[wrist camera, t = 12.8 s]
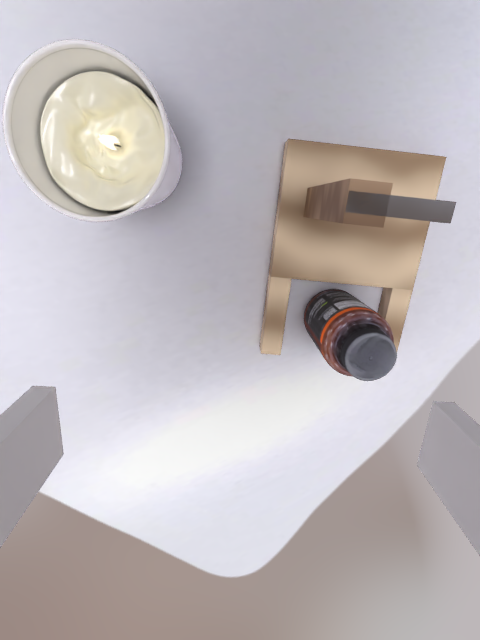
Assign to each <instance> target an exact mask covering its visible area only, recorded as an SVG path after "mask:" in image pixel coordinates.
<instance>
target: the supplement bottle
mask: <svg viewBox="0 0 480 640" xmlns="http://www.w3.org/2000/svg"><path fill="white" fill-rule="evenodd" d="M304 322H305V327H306V329H307V332H308V333H309V335H310V336H311V338H312V339H313V341H314V343H315V344H316V346H317V347H318V349H319V350H320V352H321V354H322V355H323V357H324V358H325V360H326V361H327V363H328V364H329V365H330V366H331V367H332V368H333V369H334V370H336V371H337V372H339V373H341V374H344V375H347V376H353V377H355V378H357V379H359V380H364V381H373V380H377V379H380V378H381V377H383V376H385V375H386V374H387V373H388V372H389V371H390V370H391V369H392V368H393V366H394V364H395V361H396V358H397V352H396V347H395V345H394V337H393V332H392V330H391V327H390V326H389V324H388V323H387V321H386V320H385V319H384V318H383V317H382V316H380V315H379V314H378V313H376V312H375V311H374V310H372V309H371V308H369V307H368V306H366V305H365V304H364V303H362V302H361V301H359V300H358V299H356V298H355V297H354V296H352V295H351V294H349V293H347V292H345V291H342V290H337V289H332V290H326V291H323V292H321V293H319V294H318V295H316V296H315V297H314V298H313V299H312V300H311V301H310V302H309V304H308V306H307V307H306V310H305V314H304Z"/></svg>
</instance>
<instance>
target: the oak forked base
mask: <svg viewBox="0 0 480 640" xmlns="http://www.w3.org/2000/svg"><path fill="white" fill-rule="evenodd" d="M445 160H446V157H443V156H434V155H425V154H417V153H408V152H399V151H391V150H382V149H373V148H365V147H356V146H347V145H339V144H330V143H321V142H313V141H304V140H295V139H288V140H287V141H286V142H285V148H284V156H283V164H282V172H281V180H280V188H279V196H278V204H277V212H276V220H275V228H274V236H273V244H272V252H271V260H270V268H269V276H268V284H267V292H266V300H265V308H264V315H263V323H262V331H261V339H260V350H261V354H273V355H280V354H281V347H282V341H283V334H284V327H285V320H286V313H287V306H288V299H289V293H290V286H291V279H300V280H310V281H321V282H332V283H342V284H353V285H363V286H374V287H384V288H383V292H382V296H381V301H380V305H379V310H378V314H379V315H380V316H382V317H383V318H384V319H385V320H386V321H387V323H388V324H389V326H390V327H391V330H392V332H393V337H394V345H395V347H396V352H397V350H398V346H399V342H400V338H401V334H402V330H403V326H404V322H405V318H406V314H407V310H408V306H409V302H410V298H411V294H412V291H413V287H414V283H415V279H416V275H417V271H418V267H419V263H420V259H421V255H422V251H423V247H424V243H425V239H426V235H427V231H428V227H429V223H430V221H422V220H413V219H403V218H394V217H386V218H385V223H384V227H383V228H381V227H371V226H362V225H352V224H342V223H336V222H330V221H325V220H319V219H313V218H307V217H303V216H304V209H305V203H306V196H307V189H308V188H309V187H314V186H318V185H323V184H327V183H332V182H336V181H341V180H345V179H350V178H352V179H361V180H370V181H379V182H388V183H393V186H392V190H391V195H395V196H404V197H414V198H423V199H432V200H436V196H437V192H438V188H439V184H440V180H441V176H442V172H443V168H444V164H445Z"/></svg>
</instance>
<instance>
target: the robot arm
mask: <svg viewBox="0 0 480 640" xmlns="http://www.w3.org/2000/svg"><path fill="white" fill-rule="evenodd" d="M63 454H64V453H63V445H62V437H61V429H60V420H59V412H58V404H57V396H56V388H55V387H46V386H32V387H31V388H30V389H29V390H28V391H26V392H25V393H24V394H23V395H22V396H21V397H20V398H19V399H18V400H17V401H16V402H14V403H13V404H12V405H11V406H10V407H9V408H8V409H7V410H6V411H5V412H4V413H2V414H1V415H0V548H1V546H2V545H3V543H4V542H5V540H6V539H7V537H8V536H9V534H10V533H11V531H12V530H13V528H14V527H15V525H16V524H17V522H18V521H19V519H20V518H21V517H22V515H23V513H24V512H25V511H26V509H27V507H28V506H29V505H30V503H31V502H32V500H33V499H34V497H35V496H36V494H37V493H38V491H39V490H40V488H41V487H42V485H43V484H44V482H45V481H46V479H47V478H48V476H49V475H50V474H51V472H52V471H53V469H54V468H55V466H56V465H57V463H58V462H59V460H60V459H61V457H62V456H63ZM417 467H418V468H419V469H420V471H421V472H422V473H423V475H424V477H425V478H426V479H427V481H428V482H429V484H430V485H431V486H432V488H433V490H434V491H435V492H436V494H437V495H438V497H439V498H440V499H441V501H442V502H443V504H444V505H445V507H446V508H447V510H448V511H449V513H450V514H451V515H452V517H453V518H454V520H455V521H456V523H457V524H458V525H459V527H460V528H461V530H462V531H463V532H464V534H465V535H466V537H467V538H468V540H469V541H470V543H471V544H472V546H473V547H474V548H475V550H476V551H477V553H478V554H479V556H480V425H479V424H478V423H477V422H476V421H474V420H473V419H472V418H471V417H470V416H469V415H468V414H467V413H466V412H465V411H463V410H462V409H461V408H460V407H459V406H458V405H457V404H456V403H454V402H436V401H433V403H432V408H431V411H430V415H429V419H428V423H427V427H426V431H425V435H424V439H423V443H422V447H421V451H420V454H419V458H418V462H417Z"/></svg>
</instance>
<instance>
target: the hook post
mask: <svg viewBox="0 0 480 640" xmlns="http://www.w3.org/2000/svg"><path fill="white" fill-rule="evenodd" d="M392 186H393V183H388V182H379V181H370V180H361V179H352V178H350V179H345V180H341V181H336V182H332V183H327V184H323V185H318V186H314V187H309V188H308V189H307V196H306V203H305V209H304V216H303V217H307V218H313V219H319V220H325V221H330V222H336V223H342V224H352V225H362V226H371V227H381V228H383V227H384V223H385V218H386V217H394V218H403V219H413V220H422V221H432V222H441V223H451V219H452V216H453V212H454V208H455V205H456V202H450V201H441V200H432V199H423V198H414V197H404V196H395V195H391V190H392Z"/></svg>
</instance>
